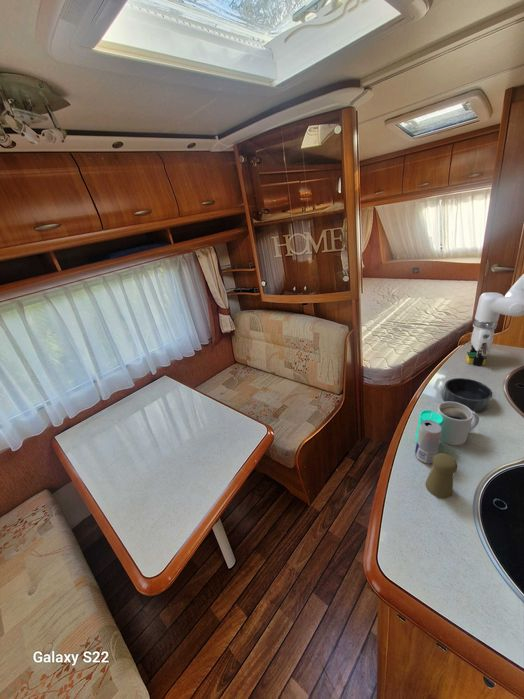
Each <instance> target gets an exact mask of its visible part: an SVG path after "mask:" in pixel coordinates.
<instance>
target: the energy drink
mask: <svg viewBox="0 0 524 699" xmlns="http://www.w3.org/2000/svg"><path fill="white" fill-rule="evenodd" d="M441 434H442V428H441V426H440V425H439V424H438V423H436V422H434V421H431V420H425V421H422V422H421V424H420V427H419V432H418V438H417V443H415V444H416V445H415V450H414V455H415V457H416V459H417V460H418V461H419V462H422V463H424V464H433V462H432V460H433V457H434V456H435V455H436V454H438V451H439V446H440V443H441V441H440V438H441Z"/></svg>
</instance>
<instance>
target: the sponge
mask: <svg viewBox="0 0 524 699" xmlns="http://www.w3.org/2000/svg"><path fill="white" fill-rule="evenodd" d="M480 353H481V352H479V354H480ZM475 356H476V352H470V351H467V352H466V356H465V361H466V363H467V364H468V365H473V361H474V357H475ZM487 358H488V357H487V355H486V356H485V358H484V360H483V364H482V365H483V366H485V365H486V362H487ZM482 365H481V366H482Z"/></svg>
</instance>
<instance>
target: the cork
mask: <svg viewBox="0 0 524 699" xmlns="http://www.w3.org/2000/svg"><path fill="white" fill-rule="evenodd" d="M432 462H433V463H432V468H431V470H430V472H429V474H428V476H427V478H426V481H425V488H426V490H427V491H428V492H429V493H430V495H432V496H434V497H436V498H439V499H449V498H451V497H452V495H453V489H454V487H453V486H454V474H455V473H456V472H457V471H458V468H459V466H458V462H457V461H456V459H455V458H454V457H453V456H452V455H450V454H448V453H444V452H439V453H437V454H436V455H435V456H434V457H433V460H432Z"/></svg>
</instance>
